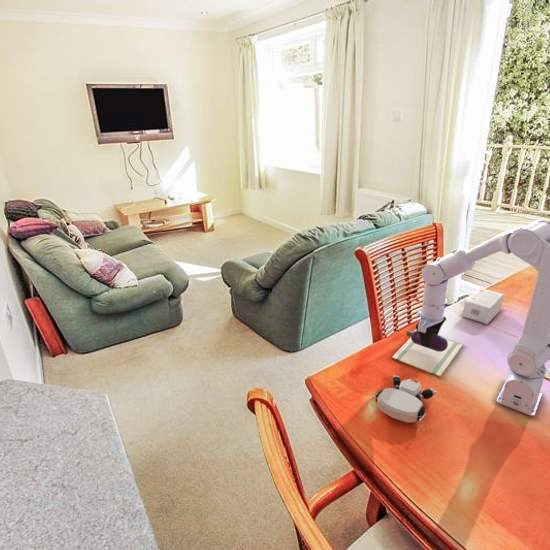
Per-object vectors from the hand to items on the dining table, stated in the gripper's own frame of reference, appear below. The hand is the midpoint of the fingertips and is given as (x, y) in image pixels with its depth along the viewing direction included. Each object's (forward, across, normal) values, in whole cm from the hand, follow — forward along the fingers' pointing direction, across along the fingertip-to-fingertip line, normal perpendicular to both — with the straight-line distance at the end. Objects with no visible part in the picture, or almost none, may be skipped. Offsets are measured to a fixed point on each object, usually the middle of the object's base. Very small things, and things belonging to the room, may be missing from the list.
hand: (428, 342), depth 111 cm
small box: (0, -26, +5) cm, 27 cm away
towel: (+3, 0, 0) cm, 3 cm away
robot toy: (+4, +25, +4) cm, 26 cm away
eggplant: (+2, 0, 0) cm, 2 cm away
